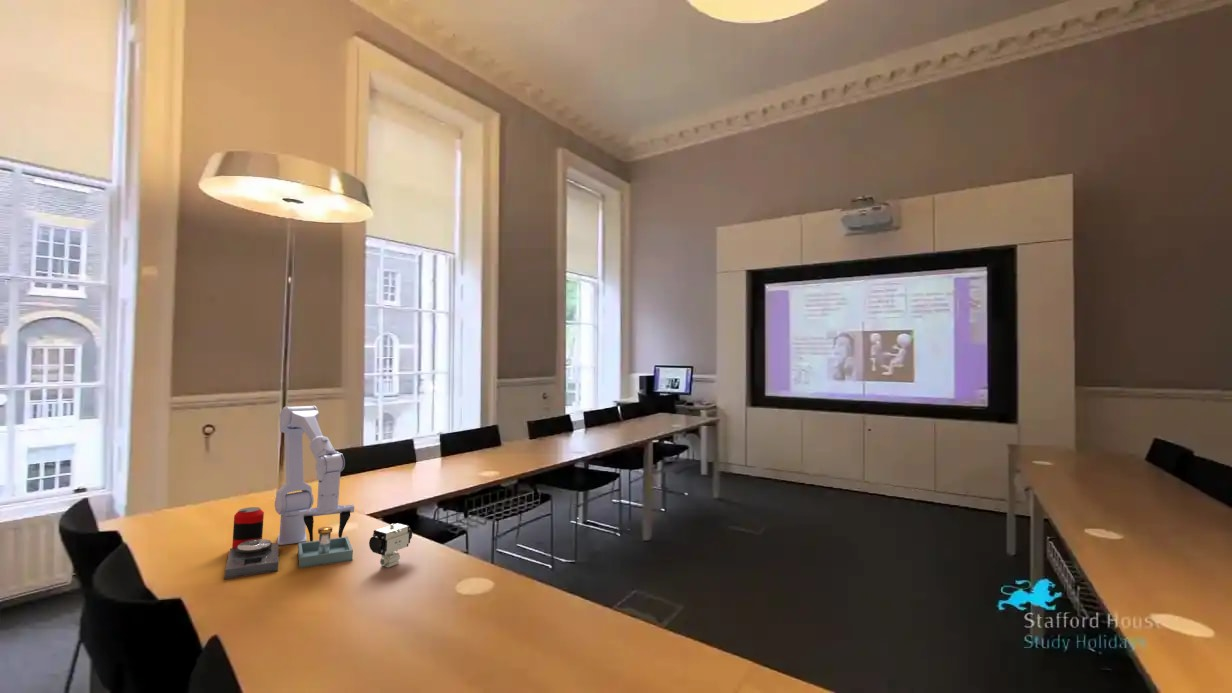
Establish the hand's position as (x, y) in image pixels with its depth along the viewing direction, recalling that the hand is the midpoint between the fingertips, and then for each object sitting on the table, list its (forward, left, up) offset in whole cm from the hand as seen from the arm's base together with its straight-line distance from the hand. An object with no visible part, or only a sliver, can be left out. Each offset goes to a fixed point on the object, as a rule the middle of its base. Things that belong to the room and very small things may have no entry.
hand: (325, 538), depth 157 cm
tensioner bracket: (-3, -18, -5) cm, 19 cm away
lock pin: (0, 0, -5) cm, 5 cm away
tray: (0, 0, -5) cm, 5 cm away
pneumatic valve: (+16, +16, -6) cm, 23 cm away
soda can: (-18, -20, -6) cm, 27 cm away
